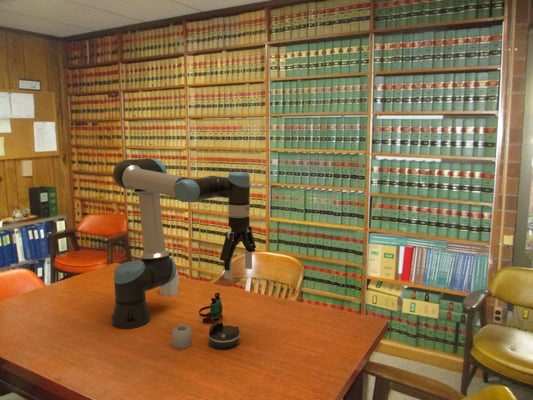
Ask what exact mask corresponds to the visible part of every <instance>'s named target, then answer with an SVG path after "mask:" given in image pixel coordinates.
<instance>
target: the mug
mask: <svg viewBox="0 0 533 400" xmlns="http://www.w3.org/2000/svg"><path fill="white" fill-rule="evenodd" d="M180 277H181V275H180V274H179V273H178V271H176V275H175V277H174V279H173V280H172V281H171V282H169V283H167V284H165V285H163V286H159V292H160V293H159V294H161V296H164V297H173V296H175V295H177V294H178V293H179V284H180Z"/></svg>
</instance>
